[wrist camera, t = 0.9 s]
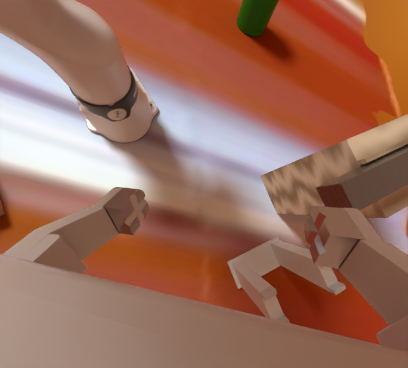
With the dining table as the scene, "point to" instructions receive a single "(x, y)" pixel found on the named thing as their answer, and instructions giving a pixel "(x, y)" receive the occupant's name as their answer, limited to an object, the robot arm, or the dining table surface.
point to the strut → (367, 182)
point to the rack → (271, 259)
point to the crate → (1, 209)
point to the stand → (338, 171)
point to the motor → (255, 16)
